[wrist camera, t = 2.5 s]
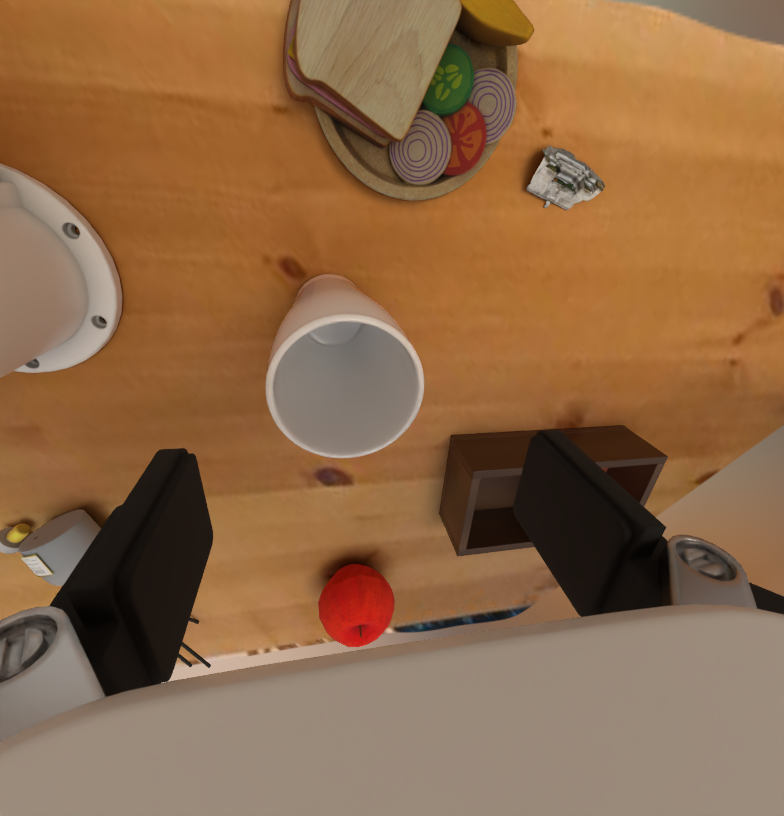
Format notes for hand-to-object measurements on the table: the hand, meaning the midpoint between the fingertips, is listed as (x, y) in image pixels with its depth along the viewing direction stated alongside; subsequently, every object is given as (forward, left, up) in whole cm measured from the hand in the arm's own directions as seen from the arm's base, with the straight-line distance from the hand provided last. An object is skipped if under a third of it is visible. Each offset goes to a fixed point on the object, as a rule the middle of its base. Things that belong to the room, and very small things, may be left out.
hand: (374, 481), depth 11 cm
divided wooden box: (+17, +21, -21) cm, 34 cm away
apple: (+30, +2, -21) cm, 37 cm away
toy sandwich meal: (-14, +4, -21) cm, 25 cm away
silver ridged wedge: (-11, +17, -20) cm, 28 cm away
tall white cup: (0, 0, -21) cm, 21 cm away
